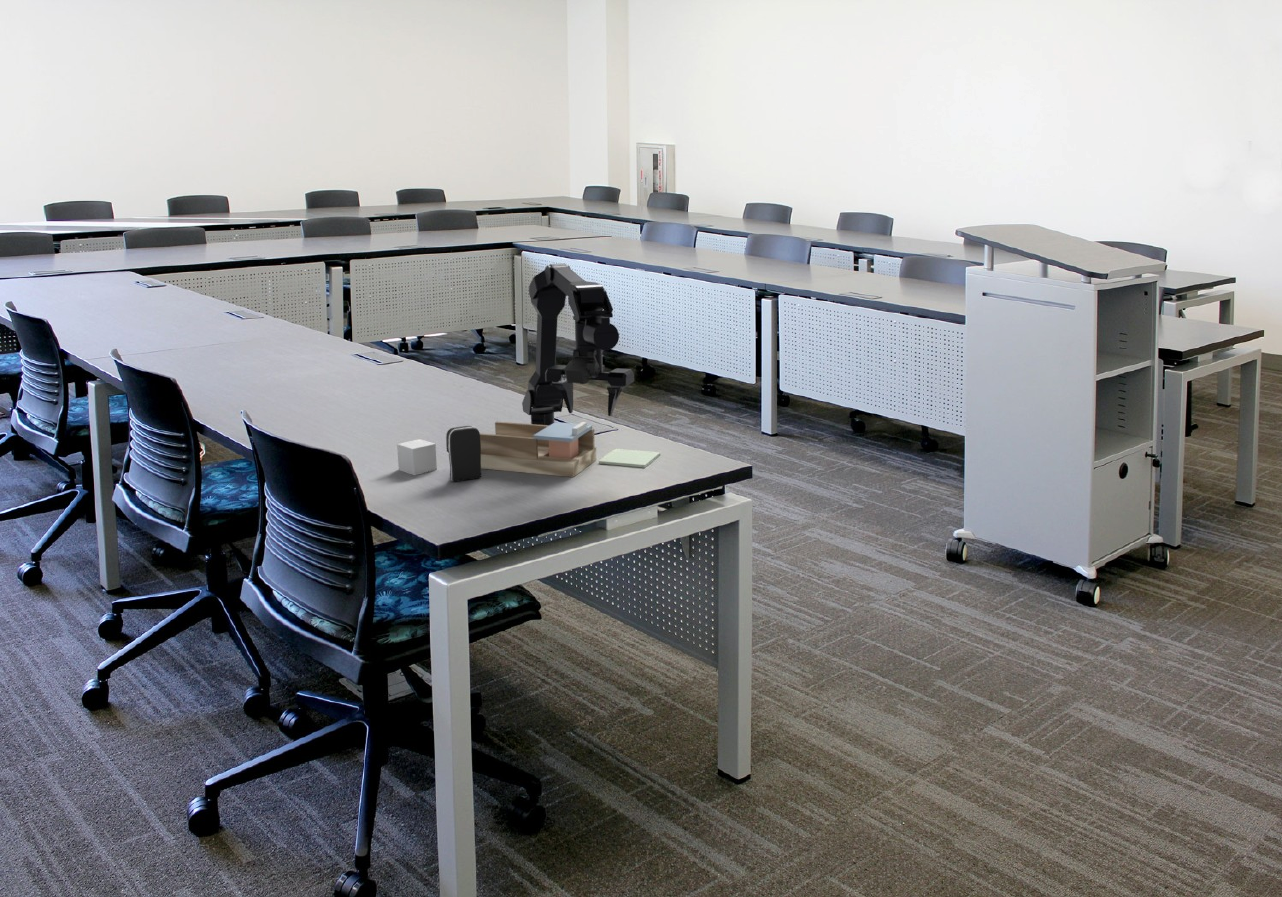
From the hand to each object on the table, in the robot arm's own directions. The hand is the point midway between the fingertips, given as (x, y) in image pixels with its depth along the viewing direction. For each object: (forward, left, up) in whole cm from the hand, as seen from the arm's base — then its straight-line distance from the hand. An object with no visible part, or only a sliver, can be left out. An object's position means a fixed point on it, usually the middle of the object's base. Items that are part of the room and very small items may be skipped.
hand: (590, 414), depth 255 cm
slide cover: (-1, -7, -5) cm, 8 cm away
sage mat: (-11, +5, -13) cm, 17 cm away
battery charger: (+14, -24, -13) cm, 30 cm away
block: (-1, -7, -13) cm, 14 cm away
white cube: (+11, -37, -13) cm, 41 cm away
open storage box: (-1, -14, -13) cm, 19 cm away
